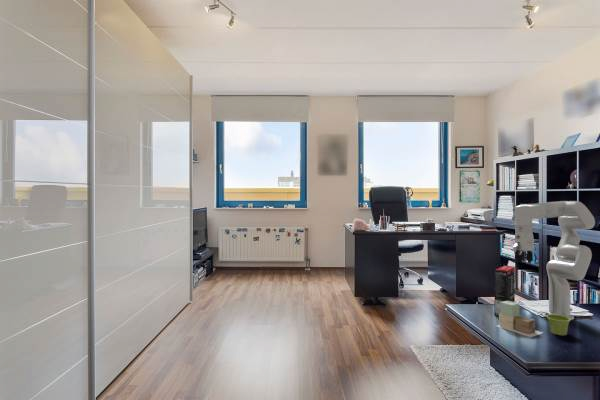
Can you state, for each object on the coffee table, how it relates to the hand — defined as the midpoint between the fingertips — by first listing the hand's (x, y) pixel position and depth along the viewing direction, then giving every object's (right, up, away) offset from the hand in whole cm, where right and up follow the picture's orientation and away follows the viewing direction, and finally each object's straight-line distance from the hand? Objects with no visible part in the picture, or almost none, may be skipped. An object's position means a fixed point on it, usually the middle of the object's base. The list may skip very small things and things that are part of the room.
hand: (524, 261), depth 182 cm
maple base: (-11, -32, -5) cm, 34 cm away
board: (-8, -33, -9) cm, 36 cm away
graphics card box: (-1, -34, +15) cm, 37 cm away
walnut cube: (-7, -32, -12) cm, 35 cm away
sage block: (-11, -26, -5) cm, 29 cm away
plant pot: (+7, -33, -14) cm, 37 cm away
